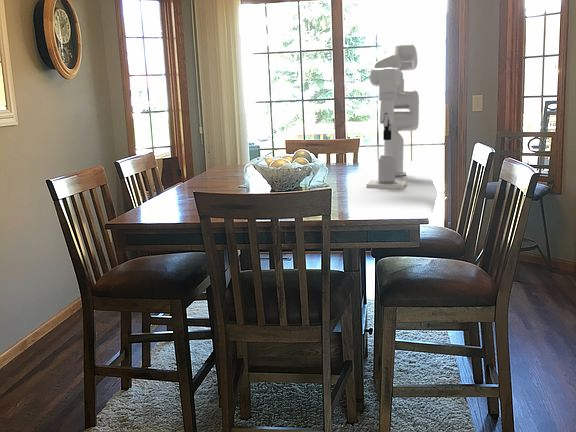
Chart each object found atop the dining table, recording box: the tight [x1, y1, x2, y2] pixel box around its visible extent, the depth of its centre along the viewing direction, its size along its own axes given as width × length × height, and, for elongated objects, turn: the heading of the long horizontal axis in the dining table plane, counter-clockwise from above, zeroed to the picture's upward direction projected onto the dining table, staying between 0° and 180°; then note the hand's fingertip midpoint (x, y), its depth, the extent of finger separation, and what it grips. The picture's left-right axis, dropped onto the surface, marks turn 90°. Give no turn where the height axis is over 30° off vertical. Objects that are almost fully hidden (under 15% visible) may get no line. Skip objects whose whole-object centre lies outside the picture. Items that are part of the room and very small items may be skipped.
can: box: [377, 154, 396, 183], centre depth 270 cm, size 8×8×12 cm
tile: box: [365, 180, 407, 189], centre depth 272 cm, size 13×16×2 cm
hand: (387, 139), depth 268 cm, fingers closed
